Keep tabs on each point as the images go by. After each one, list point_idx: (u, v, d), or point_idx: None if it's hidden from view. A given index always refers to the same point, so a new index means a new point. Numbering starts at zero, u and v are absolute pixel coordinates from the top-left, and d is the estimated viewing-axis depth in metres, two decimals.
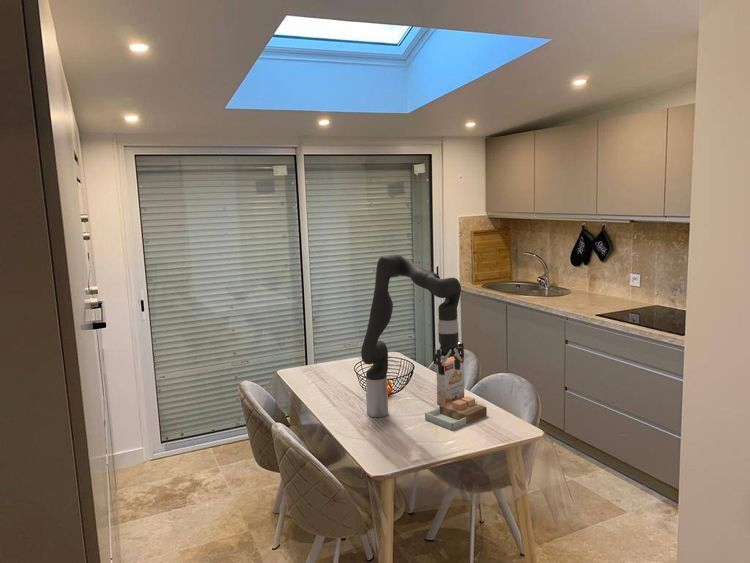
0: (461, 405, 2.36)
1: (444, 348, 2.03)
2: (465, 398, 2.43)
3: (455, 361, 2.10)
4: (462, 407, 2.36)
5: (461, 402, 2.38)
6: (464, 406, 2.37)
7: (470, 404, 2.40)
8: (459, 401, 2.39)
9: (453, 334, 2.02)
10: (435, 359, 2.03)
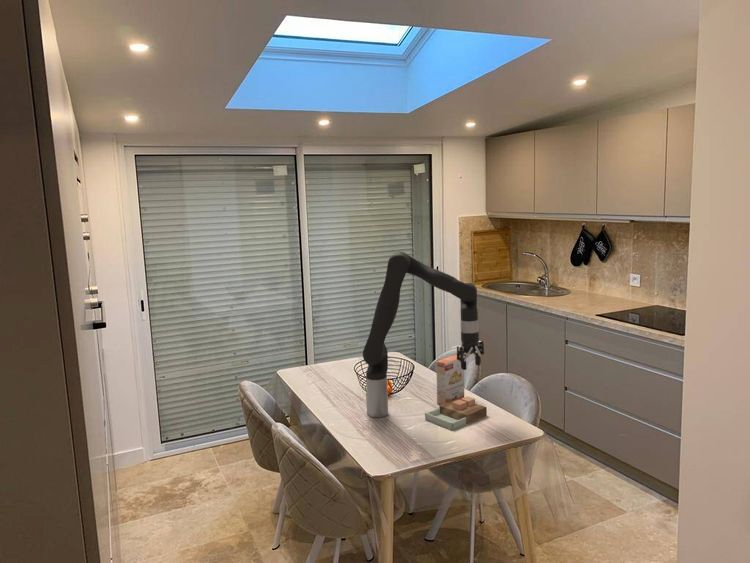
0: (461, 405, 2.36)
1: (466, 346, 2.29)
2: (465, 398, 2.43)
3: (476, 357, 2.35)
4: (462, 407, 2.36)
5: (461, 402, 2.38)
6: (464, 406, 2.37)
7: (470, 404, 2.40)
8: (459, 401, 2.39)
9: (474, 333, 2.27)
10: (458, 355, 2.29)
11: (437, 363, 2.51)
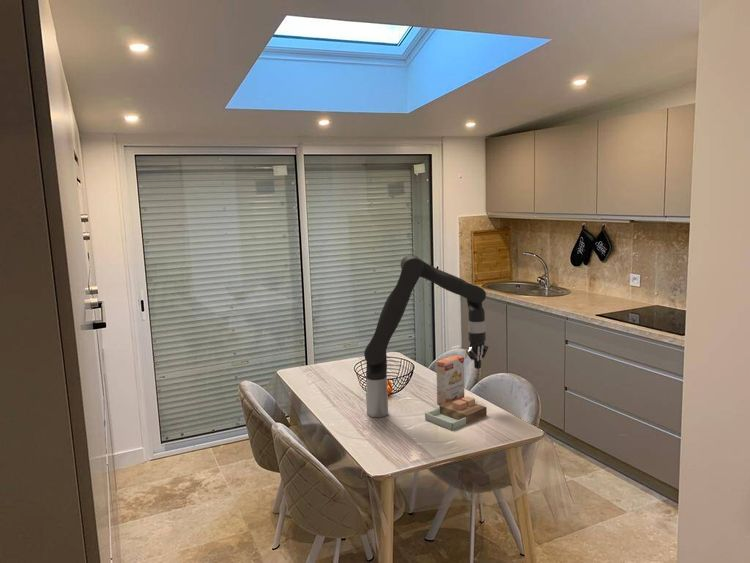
0: (461, 405, 2.36)
1: (473, 345, 2.40)
2: (465, 398, 2.43)
3: None
4: (462, 407, 2.36)
5: (461, 402, 2.38)
6: (464, 406, 2.37)
7: (470, 404, 2.40)
8: (459, 401, 2.39)
9: (481, 333, 2.39)
10: None
11: (437, 363, 2.51)
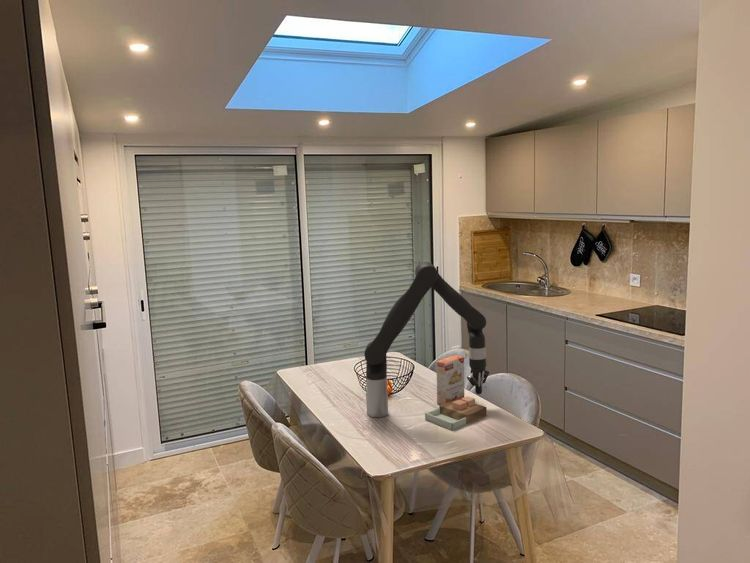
0: (461, 405, 2.36)
1: (474, 371, 2.41)
2: (465, 398, 2.43)
3: None
4: (462, 407, 2.36)
5: (461, 402, 2.38)
6: (464, 406, 2.37)
7: (470, 404, 2.40)
8: (459, 401, 2.39)
9: (482, 360, 2.40)
10: None
11: (437, 363, 2.51)
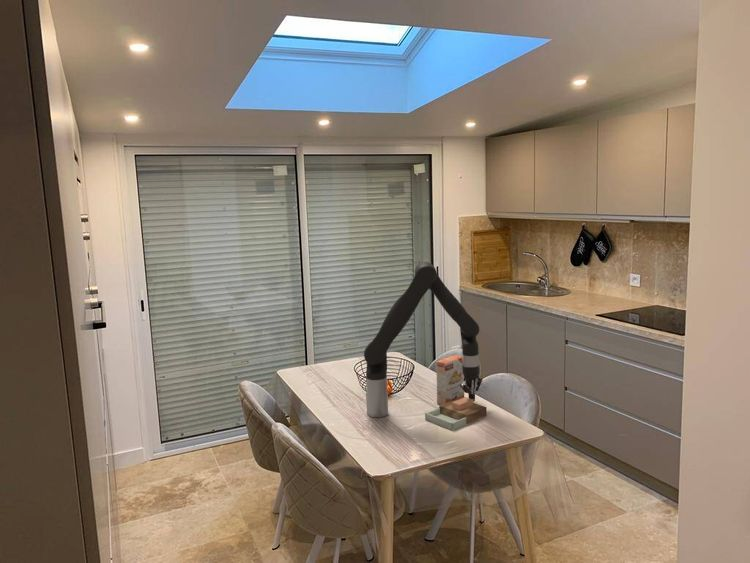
0: (461, 405, 2.36)
1: (467, 379, 2.39)
2: (463, 398, 2.42)
3: None
4: (462, 407, 2.36)
5: (461, 402, 2.38)
6: (464, 406, 2.37)
7: (468, 405, 2.39)
8: (459, 401, 2.39)
9: (475, 367, 2.38)
10: None
11: (437, 363, 2.51)
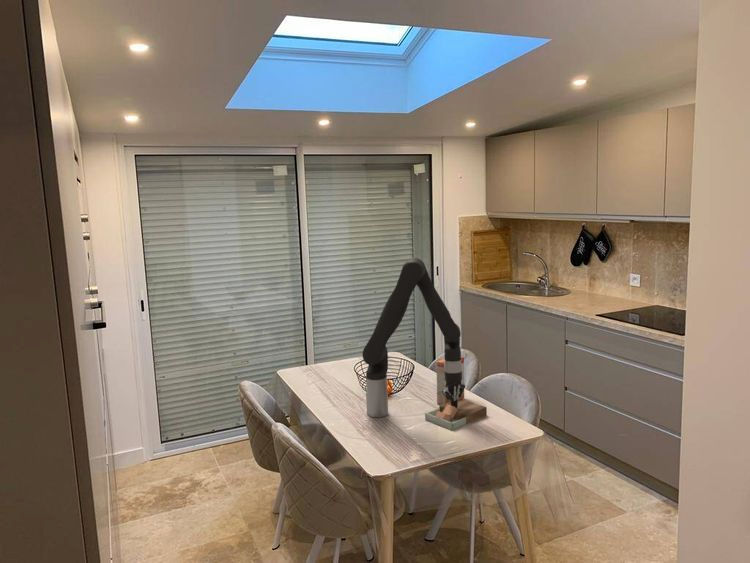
0: (448, 420, 2.31)
1: (449, 385, 2.32)
2: (445, 409, 2.35)
3: None
4: (448, 417, 2.31)
5: None
6: (446, 416, 2.30)
7: (453, 415, 2.33)
8: None
9: (457, 373, 2.31)
10: None
11: (437, 363, 2.51)
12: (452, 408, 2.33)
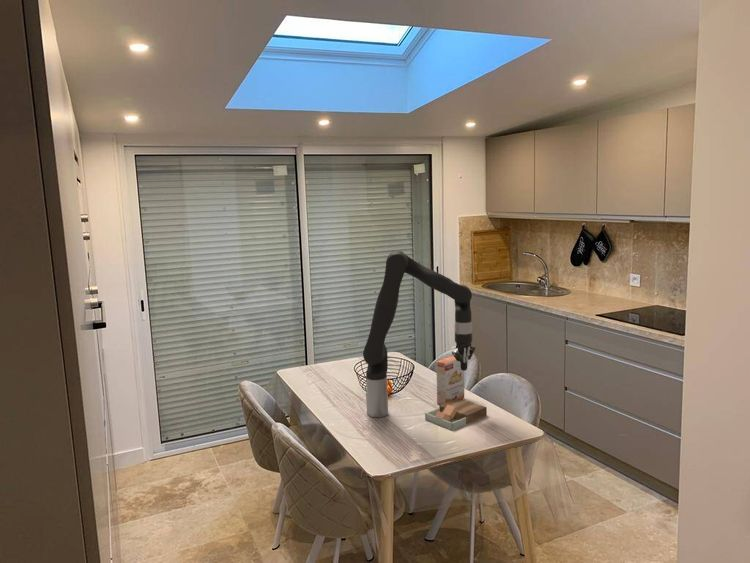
0: (448, 420, 2.31)
1: (460, 346, 2.34)
2: (445, 409, 2.35)
3: None
4: (448, 417, 2.31)
5: None
6: (446, 416, 2.30)
7: (453, 415, 2.33)
8: None
9: (468, 334, 2.33)
10: None
11: (437, 363, 2.51)
12: (452, 408, 2.33)
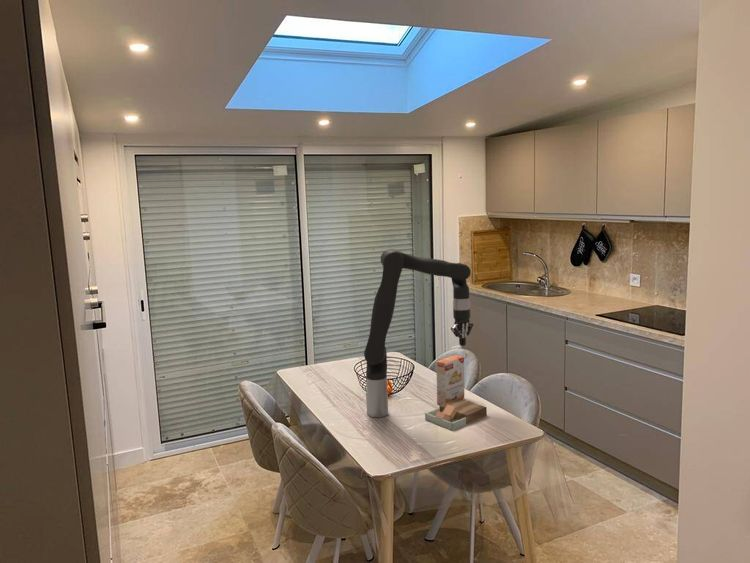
0: (448, 420, 2.31)
1: (458, 322, 2.41)
2: (445, 409, 2.35)
3: None
4: (448, 417, 2.31)
5: None
6: (446, 416, 2.30)
7: (453, 415, 2.33)
8: None
9: (466, 310, 2.40)
10: (455, 333, 2.43)
11: (437, 363, 2.51)
12: (452, 408, 2.33)
